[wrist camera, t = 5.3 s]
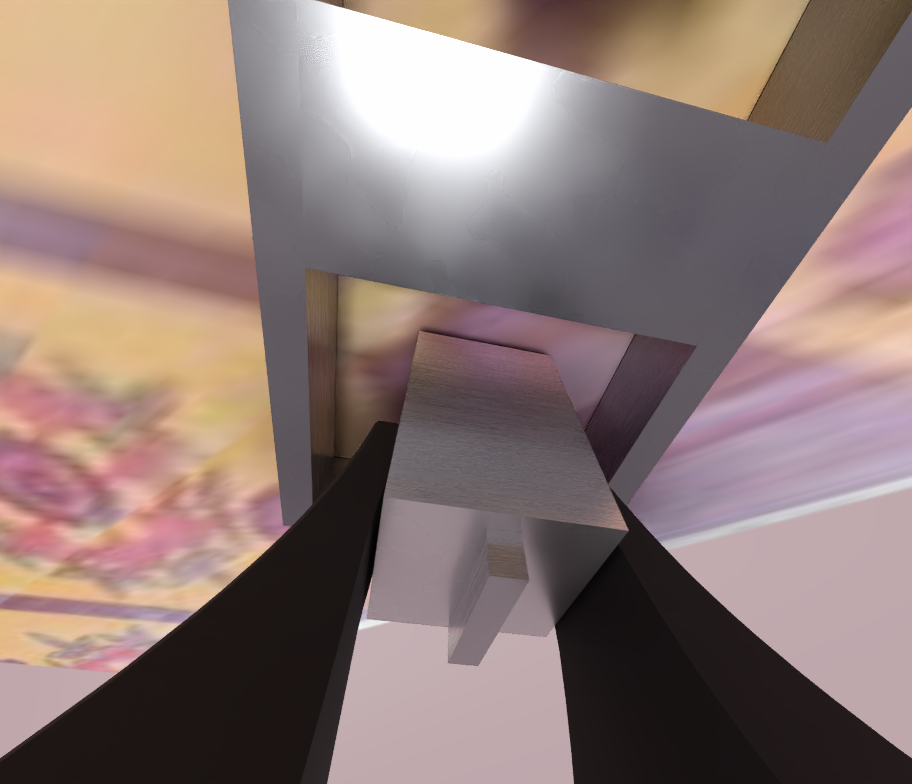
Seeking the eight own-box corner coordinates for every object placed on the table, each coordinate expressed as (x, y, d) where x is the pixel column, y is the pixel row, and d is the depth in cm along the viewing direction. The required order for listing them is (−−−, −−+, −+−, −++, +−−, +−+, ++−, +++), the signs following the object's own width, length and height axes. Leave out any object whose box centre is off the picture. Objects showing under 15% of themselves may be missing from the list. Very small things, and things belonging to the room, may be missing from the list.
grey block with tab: (550, 355, 11) (650, 578, 5) (512, 451, 13) (553, 680, 7) (419, 330, 10) (373, 545, 5) (403, 433, 13) (358, 664, 7)
